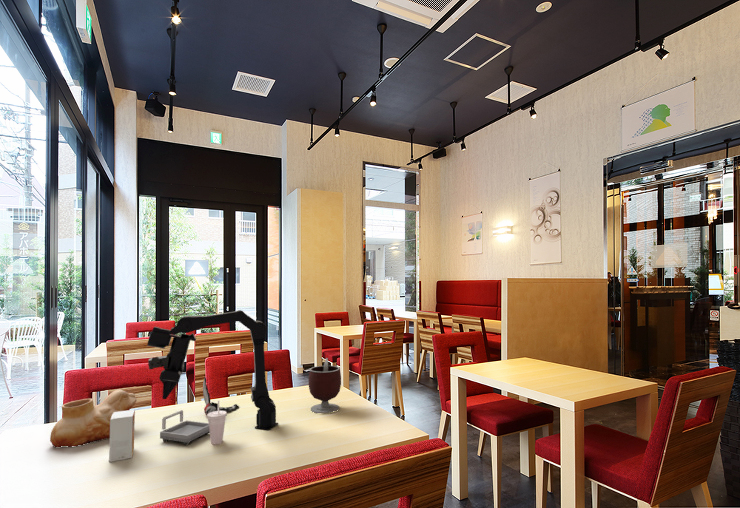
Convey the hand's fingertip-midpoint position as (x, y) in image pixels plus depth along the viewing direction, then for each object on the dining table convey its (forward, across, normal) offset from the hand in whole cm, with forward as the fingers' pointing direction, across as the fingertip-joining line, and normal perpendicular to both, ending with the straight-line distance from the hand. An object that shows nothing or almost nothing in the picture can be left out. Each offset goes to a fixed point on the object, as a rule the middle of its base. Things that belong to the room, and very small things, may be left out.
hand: (165, 395), depth 143 cm
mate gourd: (0, -12, +62) cm, 64 cm away
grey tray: (+13, 0, +11) cm, 17 cm away
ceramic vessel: (+21, -14, -19) cm, 32 cm away
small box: (+18, +8, -7) cm, 21 cm away
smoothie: (+11, +9, +20) cm, 25 cm away
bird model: (+11, -26, +22) cm, 35 cm away
